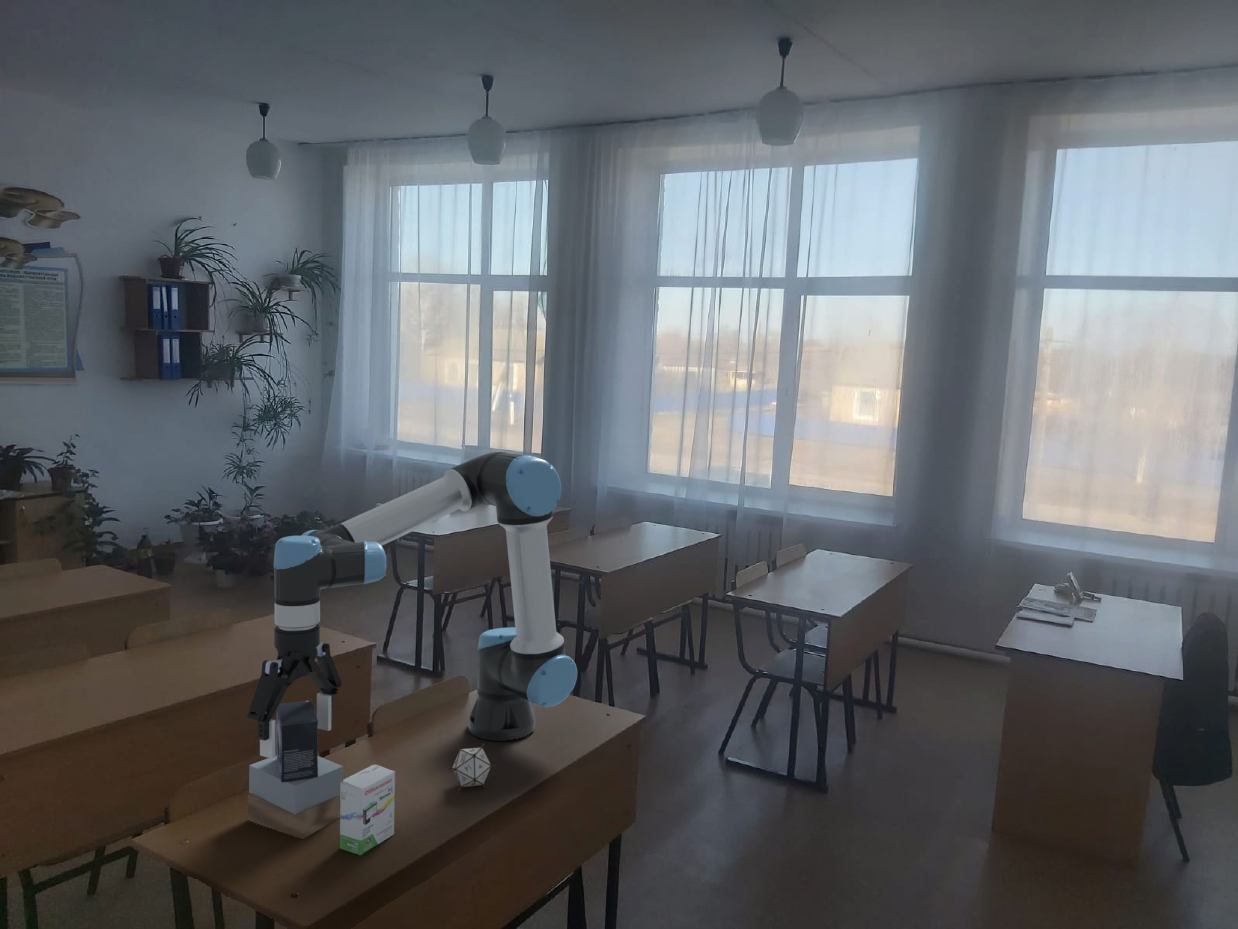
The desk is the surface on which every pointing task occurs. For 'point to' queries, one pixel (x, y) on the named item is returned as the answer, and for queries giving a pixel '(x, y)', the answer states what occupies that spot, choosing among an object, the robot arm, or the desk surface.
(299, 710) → the small box
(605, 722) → the desk surface
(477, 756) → the game die
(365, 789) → the ink box
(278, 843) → the desk surface
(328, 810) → the walnut slab
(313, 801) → the grey slab
